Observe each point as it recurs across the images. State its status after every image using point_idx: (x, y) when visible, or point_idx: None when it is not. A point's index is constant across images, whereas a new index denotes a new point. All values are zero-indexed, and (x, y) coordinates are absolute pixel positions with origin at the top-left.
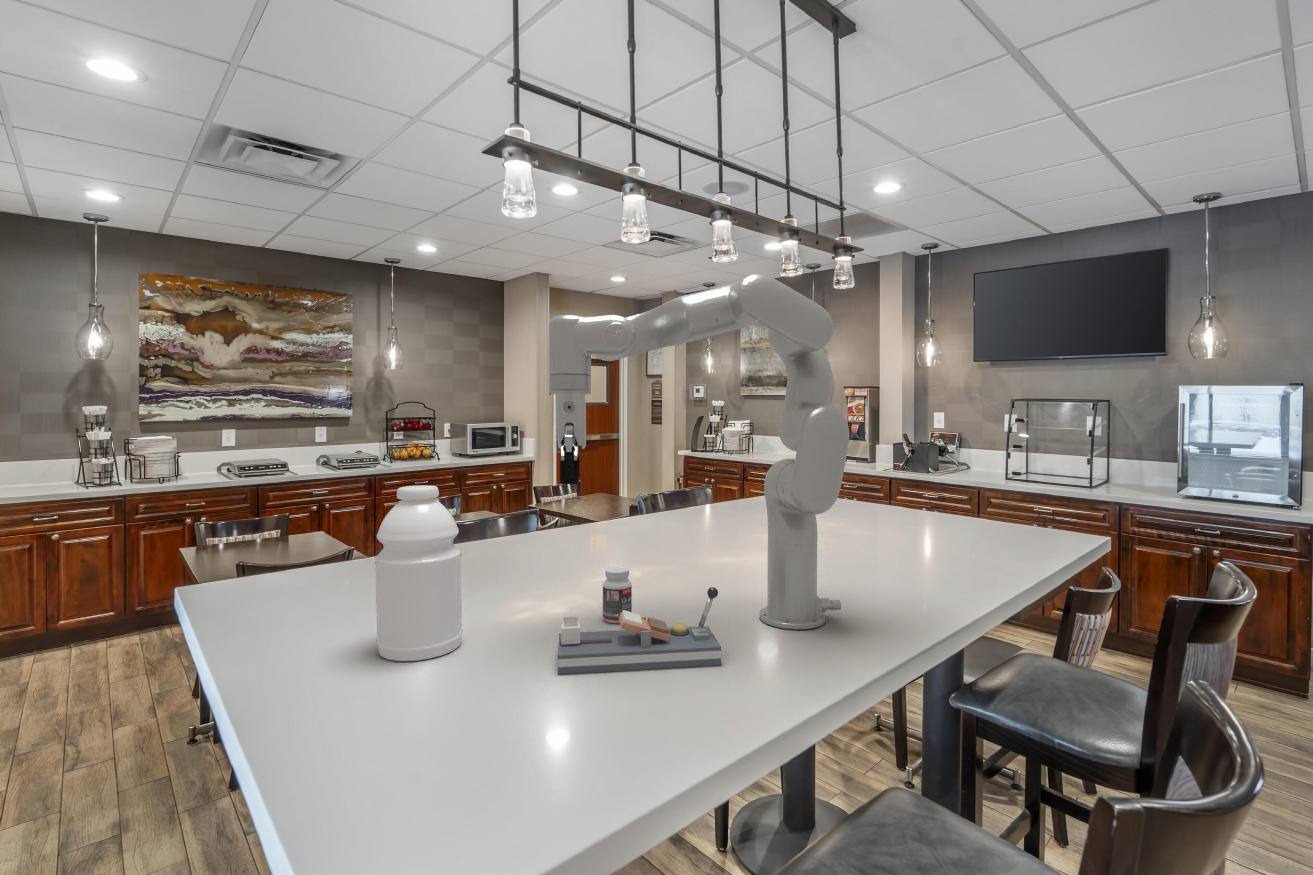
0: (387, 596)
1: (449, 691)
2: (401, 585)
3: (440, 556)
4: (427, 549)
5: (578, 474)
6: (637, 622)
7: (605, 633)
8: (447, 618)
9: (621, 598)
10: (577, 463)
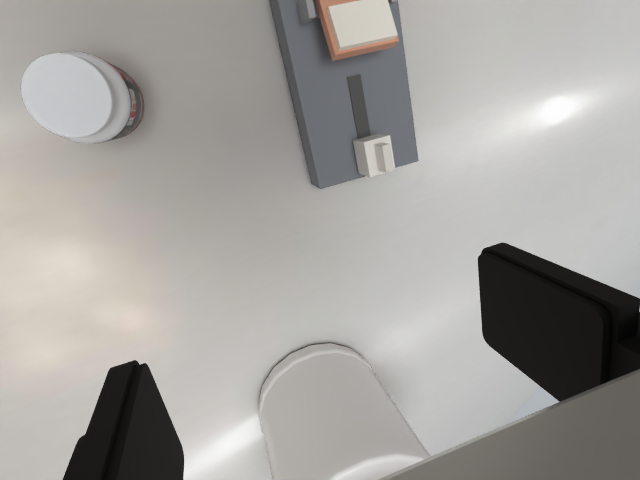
0: None
1: (450, 280)
2: None
3: None
4: None
5: (542, 258)
6: (389, 7)
7: (313, 95)
8: (360, 376)
9: (127, 81)
10: (613, 298)
